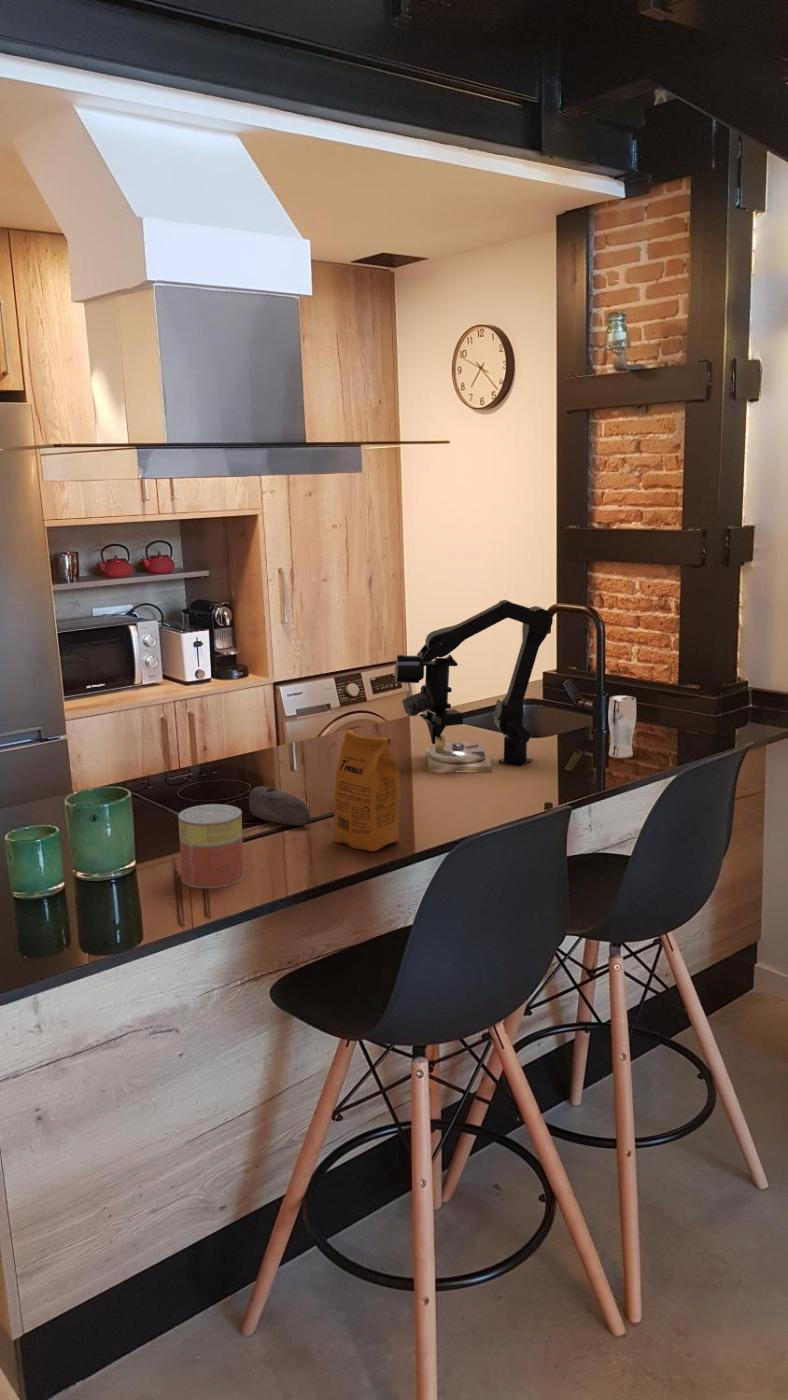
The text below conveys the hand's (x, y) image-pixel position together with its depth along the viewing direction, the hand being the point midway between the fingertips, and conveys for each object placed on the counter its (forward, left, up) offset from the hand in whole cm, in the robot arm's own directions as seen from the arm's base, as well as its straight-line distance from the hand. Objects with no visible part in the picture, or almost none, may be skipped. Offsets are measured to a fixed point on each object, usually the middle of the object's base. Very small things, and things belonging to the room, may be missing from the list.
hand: (434, 743), depth 268 cm
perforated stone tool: (+56, -3, -6) cm, 56 cm away
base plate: (-4, +4, -5) cm, 8 cm away
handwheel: (-4, +4, -4) cm, 7 cm away
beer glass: (-32, +36, -6) cm, 49 cm away
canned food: (+87, +5, -6) cm, 87 cm away
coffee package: (+57, +18, -6) cm, 60 cm away
